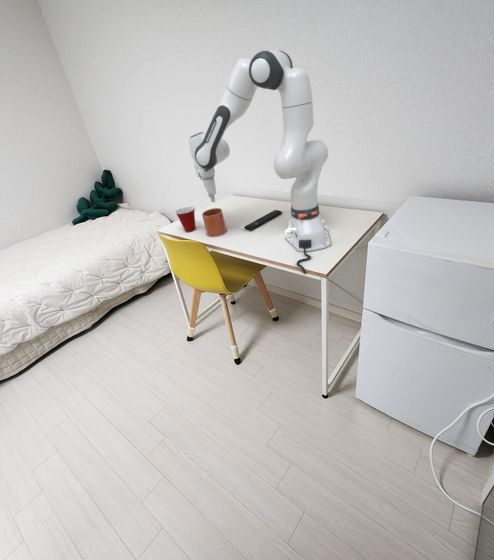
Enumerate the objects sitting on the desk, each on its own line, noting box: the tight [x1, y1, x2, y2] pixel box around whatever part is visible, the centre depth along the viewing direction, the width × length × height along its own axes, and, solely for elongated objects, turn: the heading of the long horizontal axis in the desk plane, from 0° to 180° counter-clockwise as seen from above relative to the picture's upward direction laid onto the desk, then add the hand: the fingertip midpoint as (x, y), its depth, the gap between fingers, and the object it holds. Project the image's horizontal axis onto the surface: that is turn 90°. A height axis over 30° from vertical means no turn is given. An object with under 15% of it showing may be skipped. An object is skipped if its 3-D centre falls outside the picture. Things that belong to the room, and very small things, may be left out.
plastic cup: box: [174, 206, 197, 233], centre depth 166 cm, size 11×11×12 cm
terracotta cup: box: [201, 207, 227, 238], centre depth 158 cm, size 10×10×11 cm
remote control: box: [243, 209, 283, 231], centre depth 162 cm, size 5×24×1 cm, turn 133°
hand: (211, 198), depth 153 cm, fingers open, 8 cm apart
